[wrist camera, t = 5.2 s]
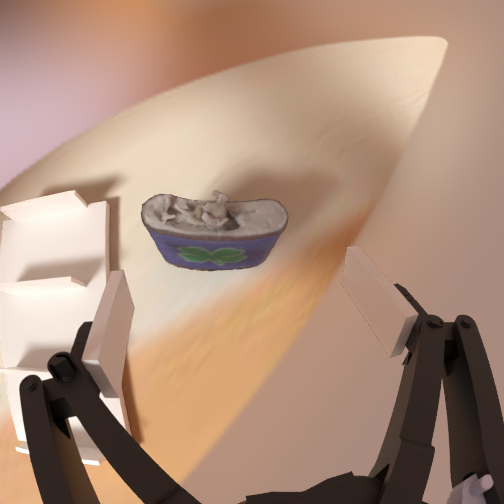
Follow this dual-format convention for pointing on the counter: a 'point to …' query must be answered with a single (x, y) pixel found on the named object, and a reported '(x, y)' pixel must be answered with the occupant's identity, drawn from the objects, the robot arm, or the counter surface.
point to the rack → (51, 294)
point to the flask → (213, 230)
